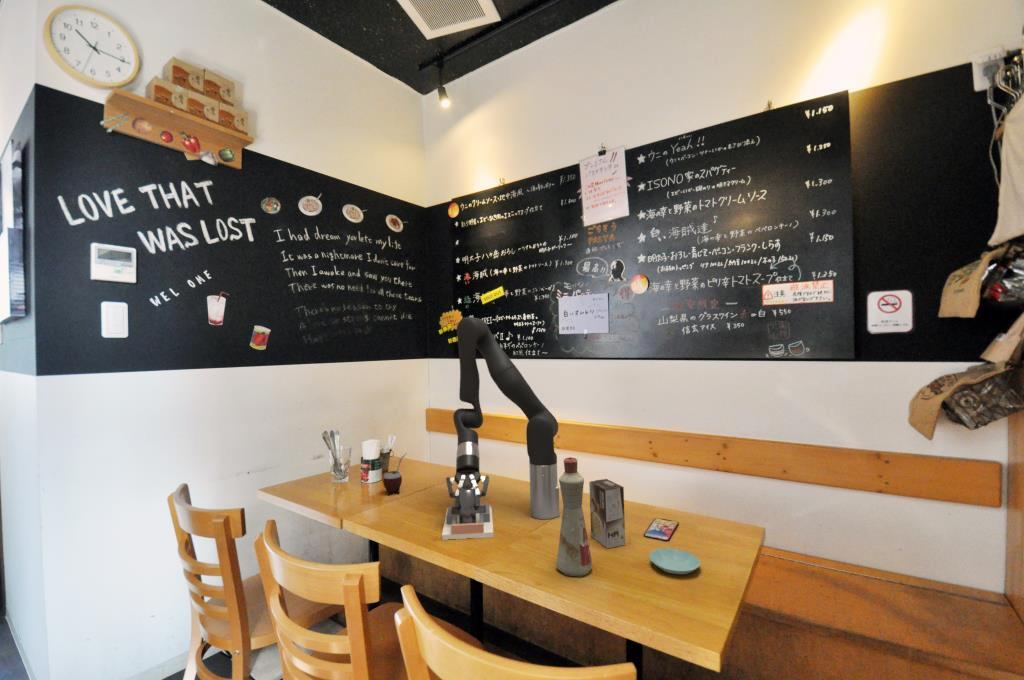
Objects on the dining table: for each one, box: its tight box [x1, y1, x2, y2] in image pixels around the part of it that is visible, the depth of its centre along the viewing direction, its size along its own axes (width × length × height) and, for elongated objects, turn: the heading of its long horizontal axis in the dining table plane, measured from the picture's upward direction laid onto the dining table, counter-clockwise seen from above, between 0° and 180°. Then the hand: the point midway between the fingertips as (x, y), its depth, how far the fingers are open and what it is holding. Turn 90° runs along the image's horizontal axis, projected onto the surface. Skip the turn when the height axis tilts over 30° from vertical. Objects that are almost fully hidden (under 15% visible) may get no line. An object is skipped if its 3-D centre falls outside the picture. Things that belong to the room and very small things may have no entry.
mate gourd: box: [382, 452, 407, 496], centre depth 173 cm, size 8×8×15 cm
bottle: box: [555, 456, 593, 577], centre depth 111 cm, size 9×9×28 cm
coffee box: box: [588, 478, 626, 549], centre depth 126 cm, size 9×6×16 cm
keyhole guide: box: [441, 503, 494, 541], centre depth 140 cm, size 15×22×4 cm
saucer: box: [649, 547, 701, 575], centre depth 110 cm, size 12×12×2 cm
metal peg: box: [459, 486, 476, 524], centre depth 134 cm, size 5×5×11 cm
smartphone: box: [643, 517, 680, 543], centre depth 133 cm, size 7×1×15 cm
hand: (467, 509), depth 133 cm, fingers closed on metal peg, 5 cm apart
